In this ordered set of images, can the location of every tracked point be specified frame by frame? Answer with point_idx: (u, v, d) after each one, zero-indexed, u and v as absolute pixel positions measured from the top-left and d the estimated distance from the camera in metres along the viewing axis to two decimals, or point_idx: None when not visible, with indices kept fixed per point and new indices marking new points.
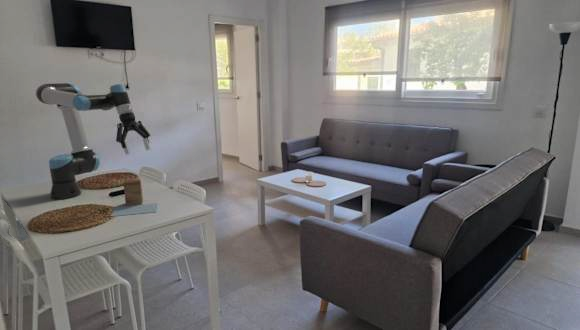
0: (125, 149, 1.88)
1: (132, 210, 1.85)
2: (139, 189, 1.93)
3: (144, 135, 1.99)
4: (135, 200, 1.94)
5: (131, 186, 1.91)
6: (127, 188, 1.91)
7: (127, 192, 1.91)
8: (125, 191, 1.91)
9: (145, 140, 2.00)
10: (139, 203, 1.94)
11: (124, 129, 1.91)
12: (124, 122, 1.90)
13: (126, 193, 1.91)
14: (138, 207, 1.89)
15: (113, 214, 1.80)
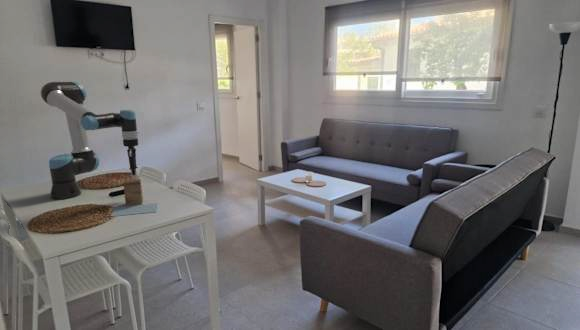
0: (133, 176, 2.02)
1: (132, 210, 1.85)
2: (139, 189, 1.93)
3: (135, 164, 2.02)
4: (135, 200, 1.94)
5: (131, 186, 1.91)
6: (127, 188, 1.91)
7: (127, 192, 1.91)
8: (125, 191, 1.91)
9: None
10: (139, 203, 1.94)
11: None
12: (132, 149, 1.95)
13: (126, 193, 1.91)
14: (138, 207, 1.89)
15: (113, 214, 1.80)
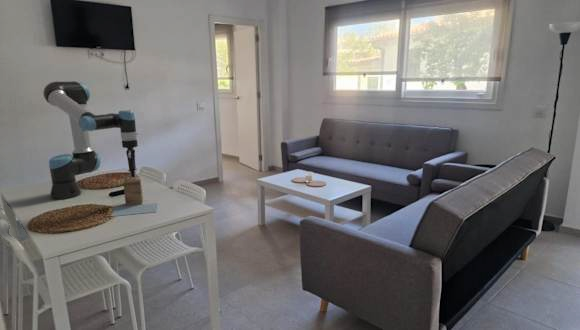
0: (132, 178, 1.98)
1: (132, 210, 1.85)
2: (139, 189, 1.93)
3: (134, 166, 1.98)
4: (135, 200, 1.94)
5: (131, 186, 1.91)
6: (127, 188, 1.91)
7: (127, 192, 1.91)
8: (125, 191, 1.91)
9: None
10: (139, 203, 1.94)
11: None
12: (131, 150, 1.91)
13: (126, 193, 1.91)
14: (138, 207, 1.89)
15: (113, 214, 1.80)
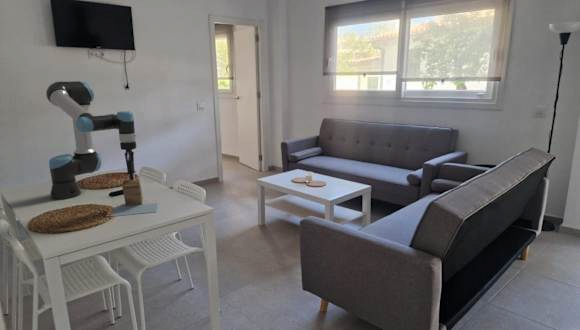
0: None
1: (132, 210, 1.85)
2: (139, 192, 1.90)
3: (133, 168, 1.93)
4: (135, 201, 1.93)
5: (130, 189, 1.88)
6: (126, 191, 1.88)
7: (126, 195, 1.89)
8: (124, 193, 1.89)
9: None
10: (139, 203, 1.94)
11: None
12: (129, 152, 1.86)
13: (125, 195, 1.89)
14: (138, 207, 1.89)
15: (113, 214, 1.80)
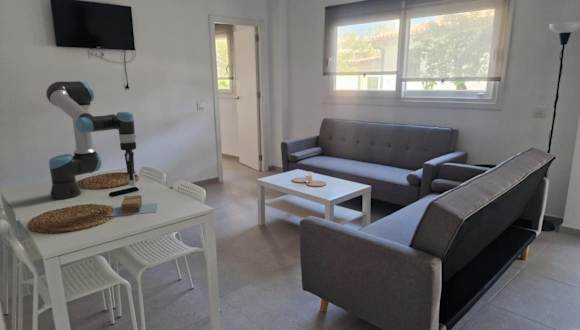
0: (131, 181, 1.92)
1: None
2: None
3: (133, 169, 1.93)
4: None
5: None
6: None
7: None
8: None
9: None
10: None
11: None
12: (129, 153, 1.86)
13: None
14: None
15: (113, 214, 1.80)
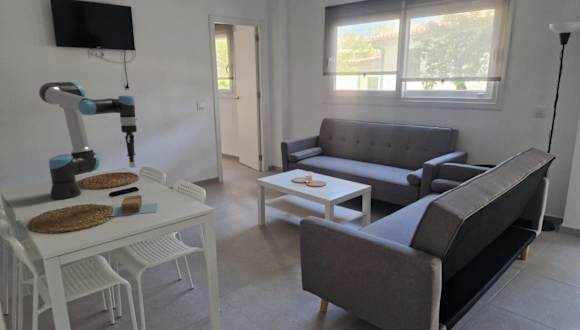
0: (131, 163, 1.99)
1: None
2: None
3: (133, 151, 2.00)
4: None
5: None
6: None
7: None
8: None
9: None
10: None
11: None
12: (130, 135, 1.93)
13: None
14: None
15: (113, 214, 1.80)
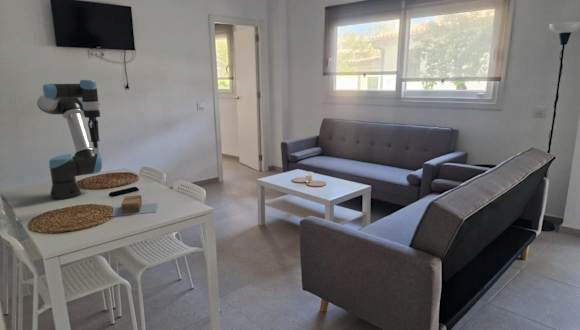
0: (95, 148, 1.96)
1: None
2: None
3: (97, 137, 1.96)
4: None
5: None
6: None
7: None
8: None
9: None
10: None
11: None
12: (93, 120, 1.90)
13: None
14: None
15: (113, 214, 1.80)
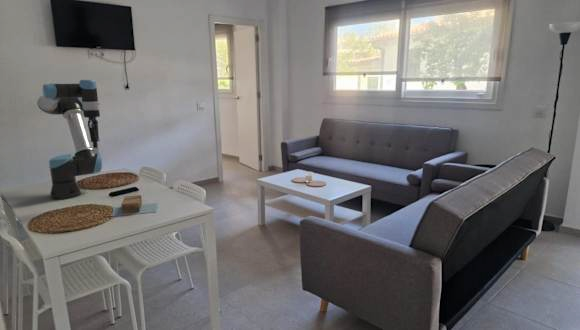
0: (95, 148, 1.96)
1: None
2: None
3: (97, 137, 1.96)
4: None
5: None
6: None
7: None
8: None
9: None
10: None
11: None
12: (92, 120, 1.90)
13: None
14: None
15: (113, 214, 1.80)
